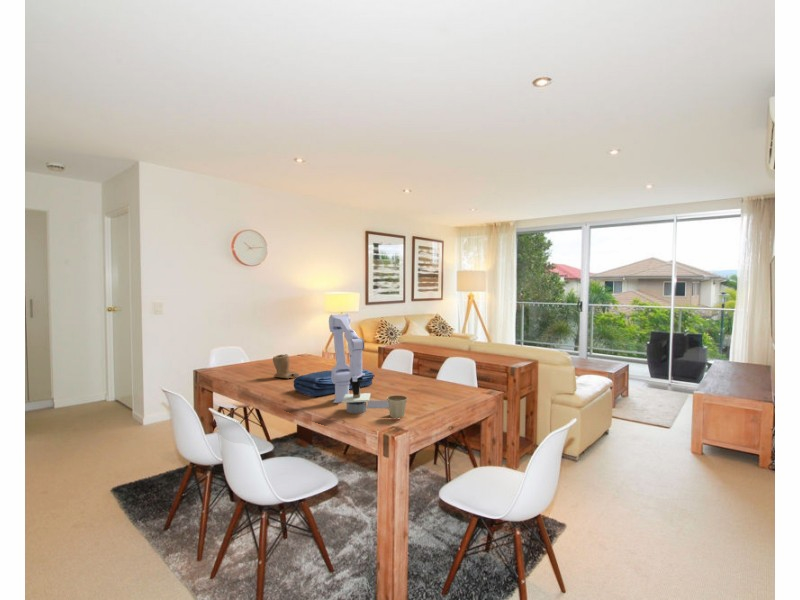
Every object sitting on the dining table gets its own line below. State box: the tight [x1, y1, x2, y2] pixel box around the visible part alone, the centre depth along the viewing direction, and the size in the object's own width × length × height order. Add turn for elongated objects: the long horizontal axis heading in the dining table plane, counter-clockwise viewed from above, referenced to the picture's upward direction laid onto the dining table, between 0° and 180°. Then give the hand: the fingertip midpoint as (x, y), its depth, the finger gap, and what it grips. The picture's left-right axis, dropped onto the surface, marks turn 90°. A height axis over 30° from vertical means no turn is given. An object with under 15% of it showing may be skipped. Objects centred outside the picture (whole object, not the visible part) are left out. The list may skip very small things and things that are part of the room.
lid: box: [341, 388, 371, 404], centre depth 197 cm, size 12×12×5 cm
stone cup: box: [272, 353, 300, 379], centre depth 269 cm, size 15×12×15 cm
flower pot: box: [386, 394, 408, 420], centre depth 189 cm, size 9×9×9 cm
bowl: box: [345, 402, 367, 414], centre depth 197 cm, size 9×9×4 cm
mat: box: [366, 400, 389, 409], centre depth 207 cm, size 13×13×1 cm
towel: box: [293, 368, 376, 398], centre depth 243 cm, size 24×43×10 cm, turn 135°
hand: (356, 393), depth 197 cm, fingers closed on lid, 3 cm apart
